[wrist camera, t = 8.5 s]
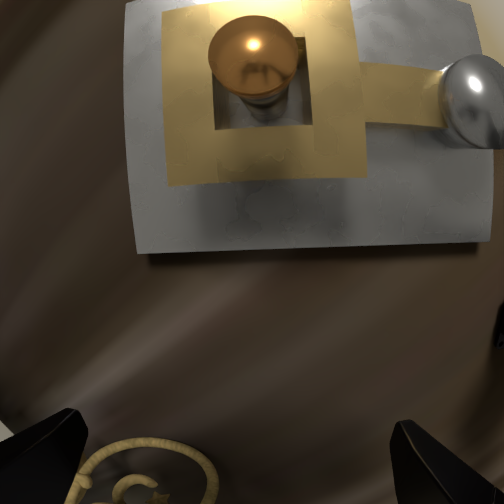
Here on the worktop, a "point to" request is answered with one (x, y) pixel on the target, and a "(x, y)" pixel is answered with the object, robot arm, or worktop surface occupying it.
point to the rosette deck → (312, 203)
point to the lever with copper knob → (255, 63)
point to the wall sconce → (86, 467)
